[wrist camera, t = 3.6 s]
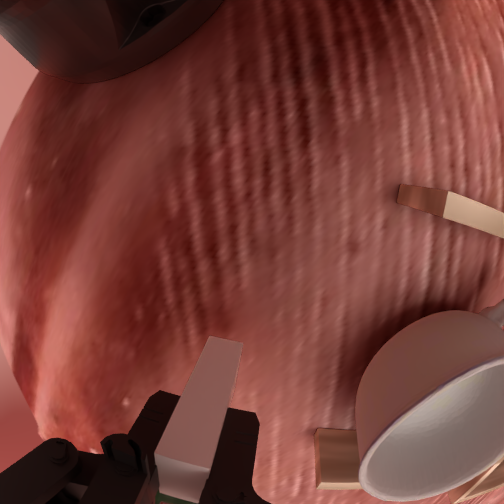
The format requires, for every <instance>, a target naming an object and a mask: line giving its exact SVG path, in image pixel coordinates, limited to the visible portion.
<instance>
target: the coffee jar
mask: <svg viewBox="0 0 504 504" xmlns="http://www.w3.org/2000/svg"><path fill="white" fill-rule="evenodd" d="M155 504H198V503H194V502H190V501H186V500H183V499H179V498H176V497H172V496H169V495H166V494H163V493H160V491H159V489H158V491H157V494H156V496H155Z"/></svg>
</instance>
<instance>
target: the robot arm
mask: <svg viewBox="0 0 504 504" xmlns="http://www.w3.org/2000/svg"><path fill="white" fill-rule="evenodd" d="M222 2H223V0H0V34H1V35H2V36H3V37H4V38H5V39H6V40H7V41H8V42H9V43H10V44H11V45H12V46H13V47H14V48H15V49H16V50H17V51H18V52H19V53H20V54H21V55H22V56H24V57H25V58H26V59H27V60H28V61H29V62H30V63H31V64H32V65H33V66H34V67H35V68H36V69H38V70H39V71H41V72H43V73H45V74H47V75H50V76H53V77H56V78H60V79H63V80H66V81H69V82H74V83H95V82H101V81H105V80H109V79H113V78H116V77H119V76H122V75H124V74H127V73H129V72H132V71H134V70H136V69H138V68H140V67H142V66H144V65H146V64H148V63H150V62H151V61H153V60H155V59H157V58H158V57H160V56H162V55H163V54H165V53H166V52H168V51H169V50H171V49H172V48H174V47H175V46H176V45H178V44H179V43H181V42H182V41H183V40H184V39H186V38H187V37H188V36H189V35H191V34H192V33H193V32H194V31H195V30H197V29H198V28H199V27H200V26H201V25H202V24H203V23H204V22H205V21H206V20H207V19H208V18H209V17H210V16H211V15H212V14H213V13H214V12H215V10H216V9H217V8H218V7H219V6H220V4H221V3H222ZM243 344H244V343H242V342H237V341H232V340H228V339H223V338H219V337H214V336H210V335H209V338H208V340H207V342H206V344H205V346H204V348H203V350H202V352H201V354H200V357H199V359H198V361H197V363H196V365H195V367H194V369H193V371H192V374H191V376H190V378H189V380H188V382H187V384H186V386H185V388H184V390H183V393H182V395H181V396H178V395H174V394H171V393H168V392H164V391H161V390H159V391H158V392H157V393H155V394H154V395H152V396H151V397H149V399H148V401H147V402H146V404H145V406H144V409H142V411H141V413H140V414H139V417H138V418H137V419H136V421H135V423H134V424H133V426H132V428H131V430H130V431H129V433H128V435H127V434H123V433H122V434H112V435H110V436H107V437H105V438H104V439H103V440H102V441H101V442H100V443H101V446H102V449H103V452H104V454H94V453H89V452H83V451H78V450H77V449H76V447H75V446H74V445H73V444H72V443H71V442H69V441H67V440H66V439H61V438H51V439H49V440H47V441H44V442H43V443H42V444H41V445H39V446H38V447H36V448H35V449H34V450H33V451H31V452H29V453H28V454H27V455H25V456H24V457H22V458H21V459H20V460H18V461H17V462H16V463H14V464H13V465H11V466H10V467H9V468H7V469H6V470H4V471H3V472H1V473H0V504H155V496H156V494H157V491H158V489H159V491H160V493H163V494H166V495H169V496H172V497H176V498H179V499H183V500H186V501H190V502H194V503H198V504H271V503H269V502H267V501H265V500H263V499H262V498H261V497H259V496H258V495H257V493H256V492H255V491H254V488H253V486H252V476H253V469H254V462H255V455H256V448H257V441H258V433H259V426H260V423H259V421H258V418H257V416H256V413H254V412H249V411H243V410H238V409H234V408H230V406H231V402H232V398H233V394H234V390H235V385H236V380H237V375H238V370H239V364H240V359H241V354H242V349H243Z"/></svg>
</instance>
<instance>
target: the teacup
mask: <svg viewBox="0 0 504 504" xmlns="http://www.w3.org/2000/svg"><path fill="white" fill-rule="evenodd" d="M503 325H504V299H503V300H502V301H500V302H499V303H498V304H496V305H495V306H492V307H487V308H484V309H483V310H482V311H481V312H480V313H479V314H476V313H472V312H469V311H461V310H451V311H443V312H439V313H435V314H431V315H429V316H426V317H423V318H421V319H419V320H417V321H415V322H413V323H411V324H410V325H408V326H407V327H405V328H404V329H402V330H401V331H399V332H398V333H397V334H395V335H394V336H393V337H392V338H391V339H390V340H388V341H387V342H386V343H385V344H384V345H383V346H382V347H381V348H380V350H379V351H378V352H377V353H376V355H375V356H374V357H373V359H372V360H371V362H370V363H369V365H368V366H367V368H366V370H365V372H364V374H363V376H362V378H361V381H360V384H359V387H358V391H357V395H356V404H355V419H356V432H357V441H358V450H359V458H360V464H359V469H358V480H359V483H360V485H361V486H362V488H363V489H364V490H365V491H366V492H367V493H369V494H370V495H371V496H374V497H376V498H378V499H381V500H384V501H400V502H405V501H413V500H420V499H424V498H428V497H432V496H435V495H438V494H441V493H444V492H447V491H449V490H451V489H454V488H456V487H458V486H460V485H462V484H464V483H466V482H468V481H470V480H472V479H473V478H474V477H476V476H478V475H479V474H481V473H483V472H484V471H486V470H487V469H488V468H489V467H491V466H492V465H494V464H495V463H496V462H497V461H498V460H500V459H501V458H502V457H503V456H504V331H503V330H502V329H501V328H502V326H503Z"/></svg>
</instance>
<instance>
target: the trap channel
mask: <svg viewBox="0 0 504 504" xmlns="http://www.w3.org/2000/svg"><path fill="white" fill-rule="evenodd" d="M397 203H399V204H402V205H405V206H409V207H412V208H415V209H418V210H421V211H424V212H428V213H431V214H434V215H437V216H440V217H443V218H446V219H449V220H452V221H455V222H458V223H461V224H464V225H467V226H470V227H473V228H476V229H479V230H482V231H485V232H487V233H490V234H493V235H496V236H498V237H501V238H504V213H503V212H500V211H498V210H496V209H493V208H491V207H489V206H486V205H484V204H481V203H479V202H476V201H474V200H471V199H469V198H466V197H464V196H461V195H458V194H456V193H453V192H450V191H446V190H440V189H433V188H426V187H419V186H411V185H404V184H400V188H399V193H398V198H397ZM314 449H315V473H316V489H330V490H344V489H363V488H362V486H361V485H360V483H359V480H358V469H359V464H360V458H359V450H358V441H357V432H356V430H337V429H324V428H318V429H317V431H316V433H315V435H314ZM503 486H504V456H503V457H502V458H501V459H500V460H498V461H497V462H496V463H495V464H494V465H492V466H491V467H489V468H488V469H487V470H486V471H484V472H483V473H481V474H479V475H478V476H476V477H474V478H473V479H472V480H470V481H468V482H466V483H464V484H462V485H460V486H458V487H456V488H454V489H451V490H449V491H447V493H448V496H449V499H450V502H451V504H456V503H460V502H463V501H466V500H469V499H472V498H475V497H477V496H480V495H483V494H485V493H488V492H491V491H493V490H495V489H498V488H500V487H503Z"/></svg>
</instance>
